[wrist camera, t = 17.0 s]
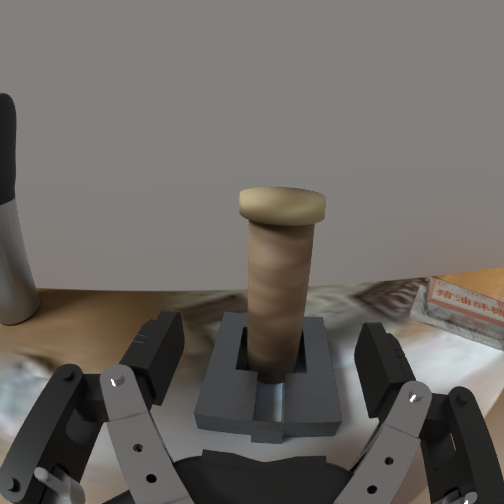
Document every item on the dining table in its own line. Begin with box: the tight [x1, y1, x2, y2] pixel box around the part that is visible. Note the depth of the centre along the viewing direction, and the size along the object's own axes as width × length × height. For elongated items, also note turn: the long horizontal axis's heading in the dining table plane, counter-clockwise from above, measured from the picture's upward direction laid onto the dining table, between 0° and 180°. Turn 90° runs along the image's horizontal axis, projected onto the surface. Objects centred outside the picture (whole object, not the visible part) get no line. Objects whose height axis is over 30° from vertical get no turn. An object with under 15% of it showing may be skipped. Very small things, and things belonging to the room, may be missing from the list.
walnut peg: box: [240, 187, 326, 384], centre depth 23 cm, size 6×6×18 cm
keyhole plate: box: [194, 312, 342, 444], centre depth 24 cm, size 12×15×2 cm
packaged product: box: [409, 278, 504, 351], centre depth 31 cm, size 18×5×10 cm
